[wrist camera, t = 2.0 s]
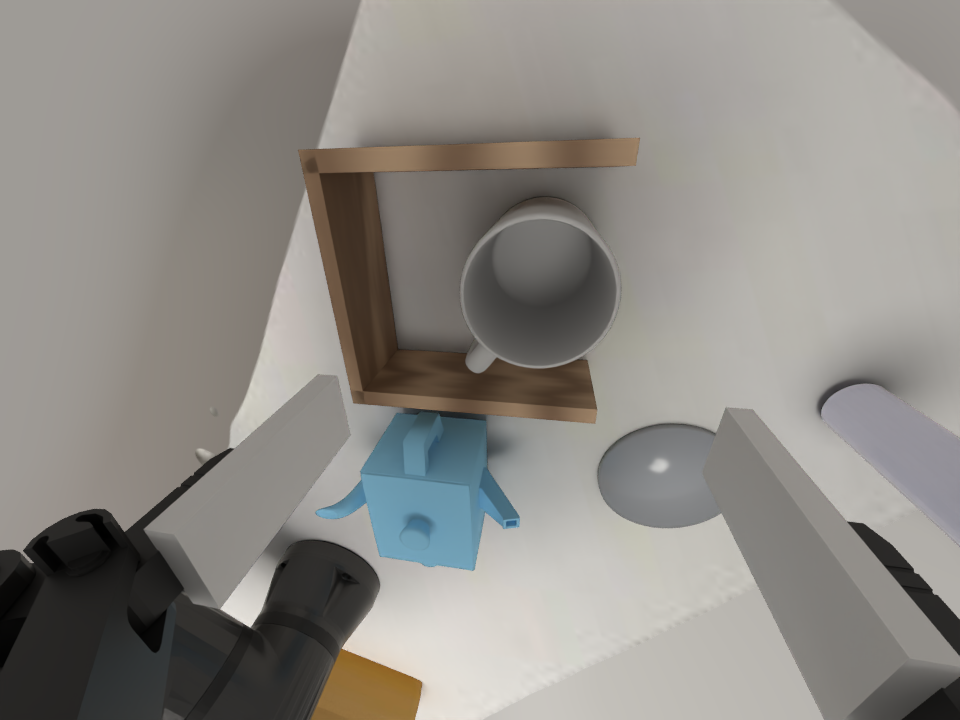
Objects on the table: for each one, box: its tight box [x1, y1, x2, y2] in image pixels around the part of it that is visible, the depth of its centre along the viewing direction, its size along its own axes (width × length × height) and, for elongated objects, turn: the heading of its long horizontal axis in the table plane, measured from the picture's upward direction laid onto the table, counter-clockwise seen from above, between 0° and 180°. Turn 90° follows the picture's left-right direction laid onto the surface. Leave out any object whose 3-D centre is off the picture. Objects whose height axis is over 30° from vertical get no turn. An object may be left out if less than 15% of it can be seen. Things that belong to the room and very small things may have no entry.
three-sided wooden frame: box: [298, 138, 640, 424], centre depth 26 cm, size 18×17×8 cm
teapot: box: [316, 412, 520, 571], centre depth 34 cm, size 16×18×11 cm
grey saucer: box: [598, 424, 721, 528], centre depth 36 cm, size 13×13×1 cm
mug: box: [460, 197, 621, 373], centre depth 24 cm, size 12×8×11 cm
